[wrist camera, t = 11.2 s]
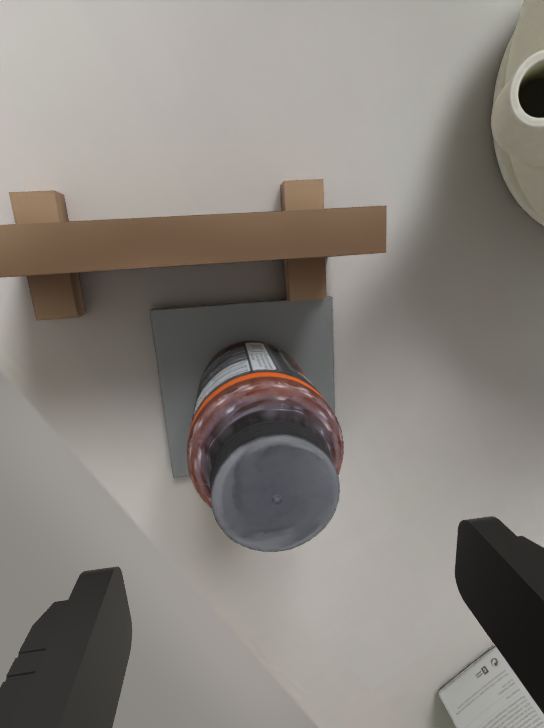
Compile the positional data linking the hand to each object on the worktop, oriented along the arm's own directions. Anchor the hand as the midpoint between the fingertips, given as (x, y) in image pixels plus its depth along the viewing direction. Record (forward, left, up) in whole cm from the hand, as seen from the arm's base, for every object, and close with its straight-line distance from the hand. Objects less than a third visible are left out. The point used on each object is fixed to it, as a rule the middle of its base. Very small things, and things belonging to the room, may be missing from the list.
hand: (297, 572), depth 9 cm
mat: (0, 0, -15) cm, 15 cm away
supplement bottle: (0, 0, -14) cm, 14 cm away
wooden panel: (-8, -3, -15) cm, 17 cm away
